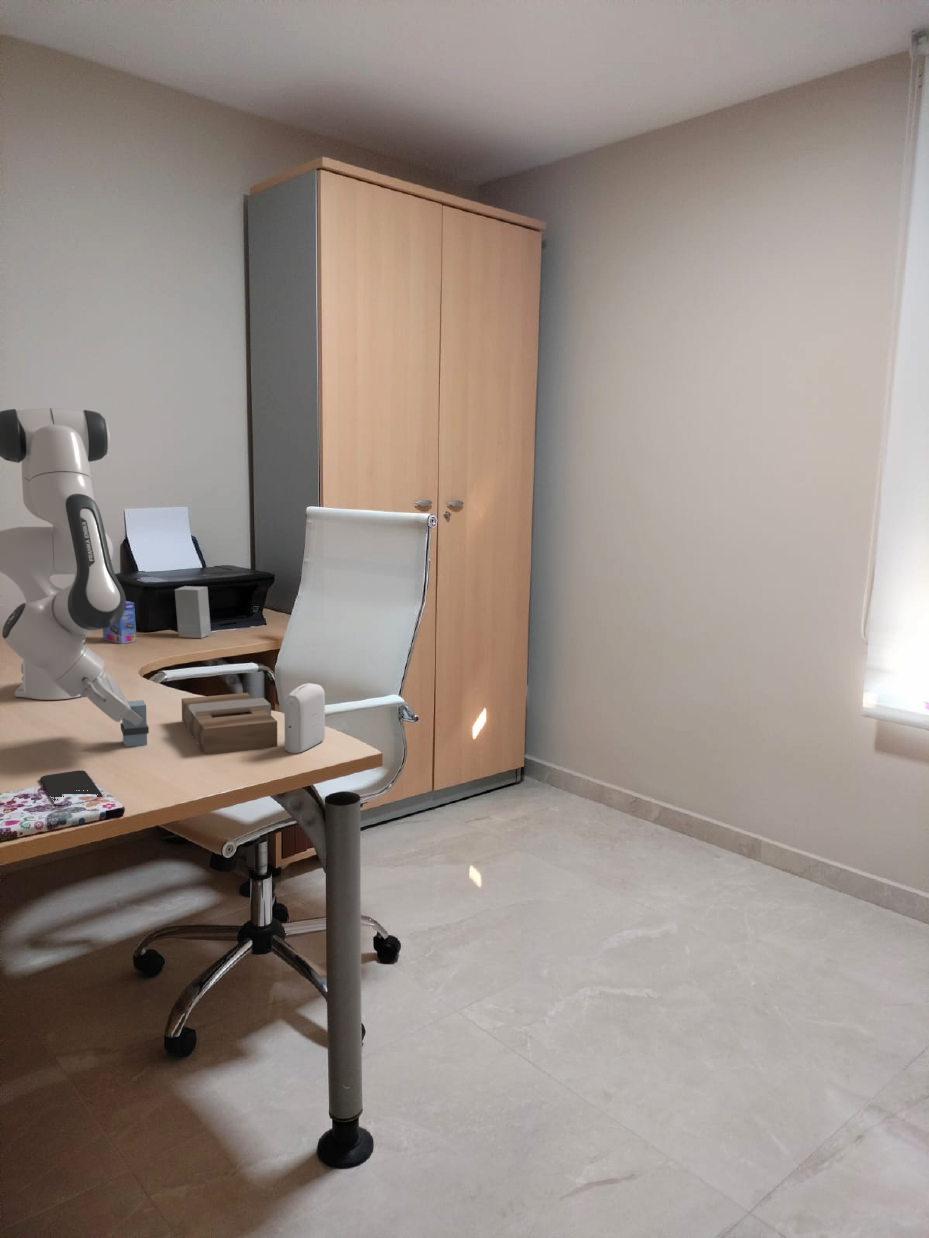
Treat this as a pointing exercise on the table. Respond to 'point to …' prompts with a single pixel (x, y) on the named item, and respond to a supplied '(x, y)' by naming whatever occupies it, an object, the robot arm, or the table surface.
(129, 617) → the ink cartridge box
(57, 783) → the phone
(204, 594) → the skincare box
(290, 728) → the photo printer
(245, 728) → the brown tissue box
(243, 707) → the white rectangular bar
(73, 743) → the table surface
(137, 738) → the blue-gray rectangular block
